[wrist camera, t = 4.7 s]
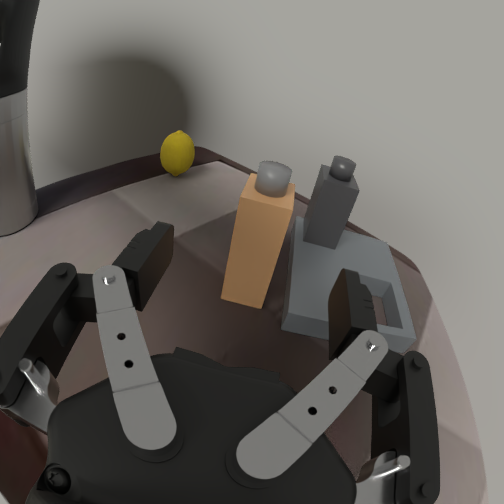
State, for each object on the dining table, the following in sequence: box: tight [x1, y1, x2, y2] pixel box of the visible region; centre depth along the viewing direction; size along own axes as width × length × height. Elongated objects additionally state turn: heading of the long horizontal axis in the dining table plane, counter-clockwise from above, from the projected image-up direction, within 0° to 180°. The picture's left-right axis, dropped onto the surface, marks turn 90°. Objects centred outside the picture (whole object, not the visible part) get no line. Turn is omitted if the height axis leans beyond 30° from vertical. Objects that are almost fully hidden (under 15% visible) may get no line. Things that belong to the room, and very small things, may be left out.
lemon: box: [160, 130, 194, 176], centre depth 45 cm, size 6×6×8 cm
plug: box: [221, 161, 295, 309], centre depth 26 cm, size 4×5×13 cm
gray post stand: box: [281, 156, 416, 353], centre depth 30 cm, size 14×17×12 cm
